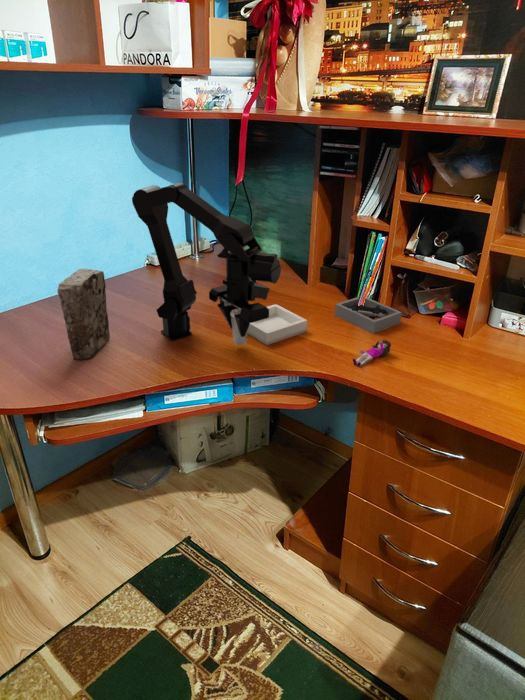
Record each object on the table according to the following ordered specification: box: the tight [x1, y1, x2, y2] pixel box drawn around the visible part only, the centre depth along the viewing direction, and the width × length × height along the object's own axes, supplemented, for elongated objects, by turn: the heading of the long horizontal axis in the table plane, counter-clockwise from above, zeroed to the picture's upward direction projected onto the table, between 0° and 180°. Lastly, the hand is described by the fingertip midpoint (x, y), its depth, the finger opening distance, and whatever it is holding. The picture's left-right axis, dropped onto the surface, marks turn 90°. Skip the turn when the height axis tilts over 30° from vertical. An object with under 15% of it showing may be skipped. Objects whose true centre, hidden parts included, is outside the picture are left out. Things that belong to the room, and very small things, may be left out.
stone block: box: [57, 268, 111, 361], centre depth 133 cm, size 13×7×20 cm, turn 175°
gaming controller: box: [349, 302, 387, 320], centre depth 155 cm, size 11×4×7 cm
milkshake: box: [230, 309, 248, 346], centre depth 136 cm, size 4×5×10 cm
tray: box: [247, 303, 308, 346], centre depth 149 cm, size 14×14×4 cm
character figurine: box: [352, 339, 392, 368], centre depth 134 cm, size 6×5×12 cm
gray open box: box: [334, 297, 403, 334], centre depth 155 cm, size 11×15×4 cm
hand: (238, 333), depth 137 cm, fingers closed on milkshake, 4 cm apart
